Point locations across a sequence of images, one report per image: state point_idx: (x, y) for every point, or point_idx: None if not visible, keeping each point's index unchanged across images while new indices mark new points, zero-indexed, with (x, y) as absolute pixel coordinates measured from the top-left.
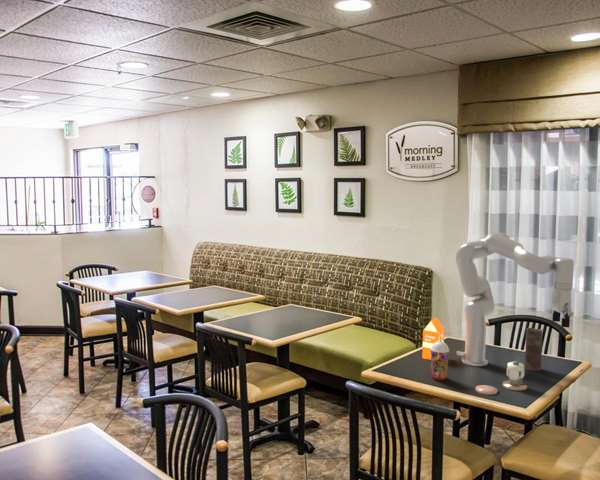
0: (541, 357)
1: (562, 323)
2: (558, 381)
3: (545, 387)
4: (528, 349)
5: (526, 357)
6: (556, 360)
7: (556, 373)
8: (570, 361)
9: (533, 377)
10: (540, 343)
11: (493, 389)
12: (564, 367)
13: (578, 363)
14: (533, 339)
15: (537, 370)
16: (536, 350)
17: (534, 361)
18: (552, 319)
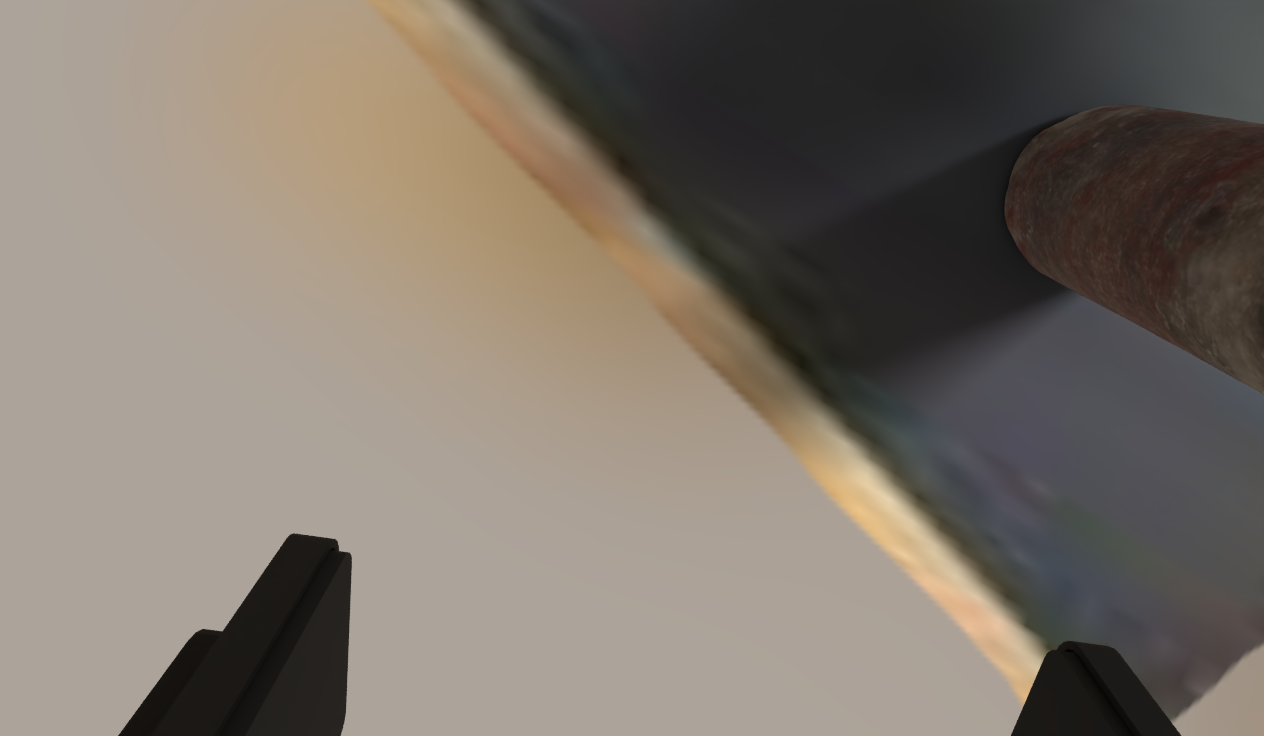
0: (1101, 302)
1: (244, 620)
2: (691, 263)
3: (531, 15)
4: (1246, 140)
5: (1195, 117)
6: (1247, 574)
7: (910, 372)
8: (1176, 671)
9: (846, 50)
10: (1211, 333)
11: None
12: (1046, 537)
13: None
14: None
15: (1007, 201)
16: (1150, 235)
17: (1072, 181)
18: (1129, 677)
